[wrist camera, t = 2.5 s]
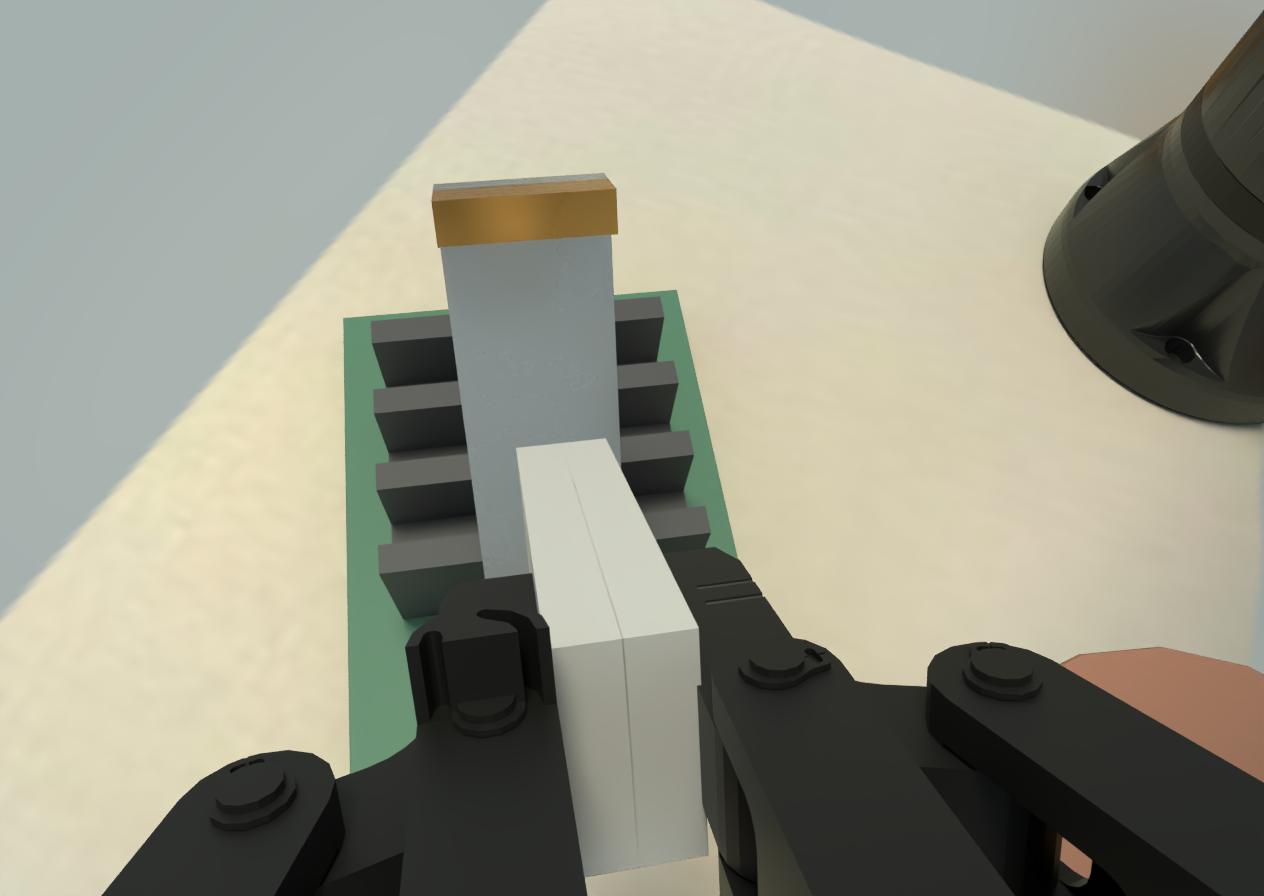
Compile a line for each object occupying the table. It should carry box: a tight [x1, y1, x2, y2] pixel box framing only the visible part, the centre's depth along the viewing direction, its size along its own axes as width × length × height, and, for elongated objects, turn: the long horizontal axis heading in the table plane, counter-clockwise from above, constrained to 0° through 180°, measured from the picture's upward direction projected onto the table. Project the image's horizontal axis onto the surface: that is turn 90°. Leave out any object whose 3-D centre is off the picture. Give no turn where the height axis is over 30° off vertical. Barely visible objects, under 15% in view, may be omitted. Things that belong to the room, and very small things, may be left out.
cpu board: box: [343, 290, 738, 774], centre depth 32 cm, size 15×20×10 cm
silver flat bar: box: [432, 173, 621, 579], centre depth 24 cm, size 4×15×2 cm
